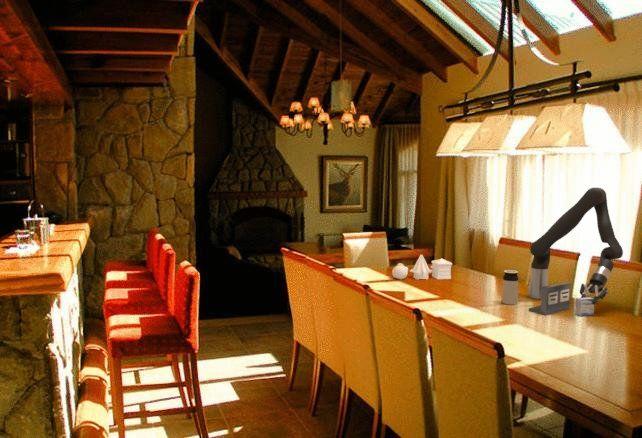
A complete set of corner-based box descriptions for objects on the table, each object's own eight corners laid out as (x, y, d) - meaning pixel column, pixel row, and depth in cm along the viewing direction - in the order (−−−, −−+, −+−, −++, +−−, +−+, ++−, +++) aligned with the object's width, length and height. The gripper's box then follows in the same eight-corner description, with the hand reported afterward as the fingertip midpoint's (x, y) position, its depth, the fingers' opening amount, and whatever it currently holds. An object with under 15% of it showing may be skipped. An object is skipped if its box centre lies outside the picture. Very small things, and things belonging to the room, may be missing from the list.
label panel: (528, 311, 310) (529, 284, 308) (552, 305, 323) (553, 280, 322) (546, 315, 301) (547, 288, 300) (570, 309, 315) (571, 283, 313)
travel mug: (518, 305, 322) (519, 272, 321) (502, 304, 324) (504, 272, 322) (516, 302, 330) (517, 270, 328) (501, 301, 332) (502, 269, 330)
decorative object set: (443, 275, 412) (443, 251, 410) (453, 279, 394) (454, 255, 393) (387, 276, 404) (388, 253, 403) (395, 281, 387) (396, 256, 385)
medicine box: (580, 316, 299) (581, 299, 299) (574, 314, 304) (575, 297, 303) (593, 315, 302) (594, 298, 301) (587, 313, 306) (588, 296, 305)
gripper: (584, 270, 312) (571, 295, 306) (611, 274, 301) (598, 300, 295) (589, 279, 316) (576, 304, 310) (616, 283, 305) (603, 309, 298)
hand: (587, 302), depth 302 cm, fingers closed on medicine box, 5 cm apart
